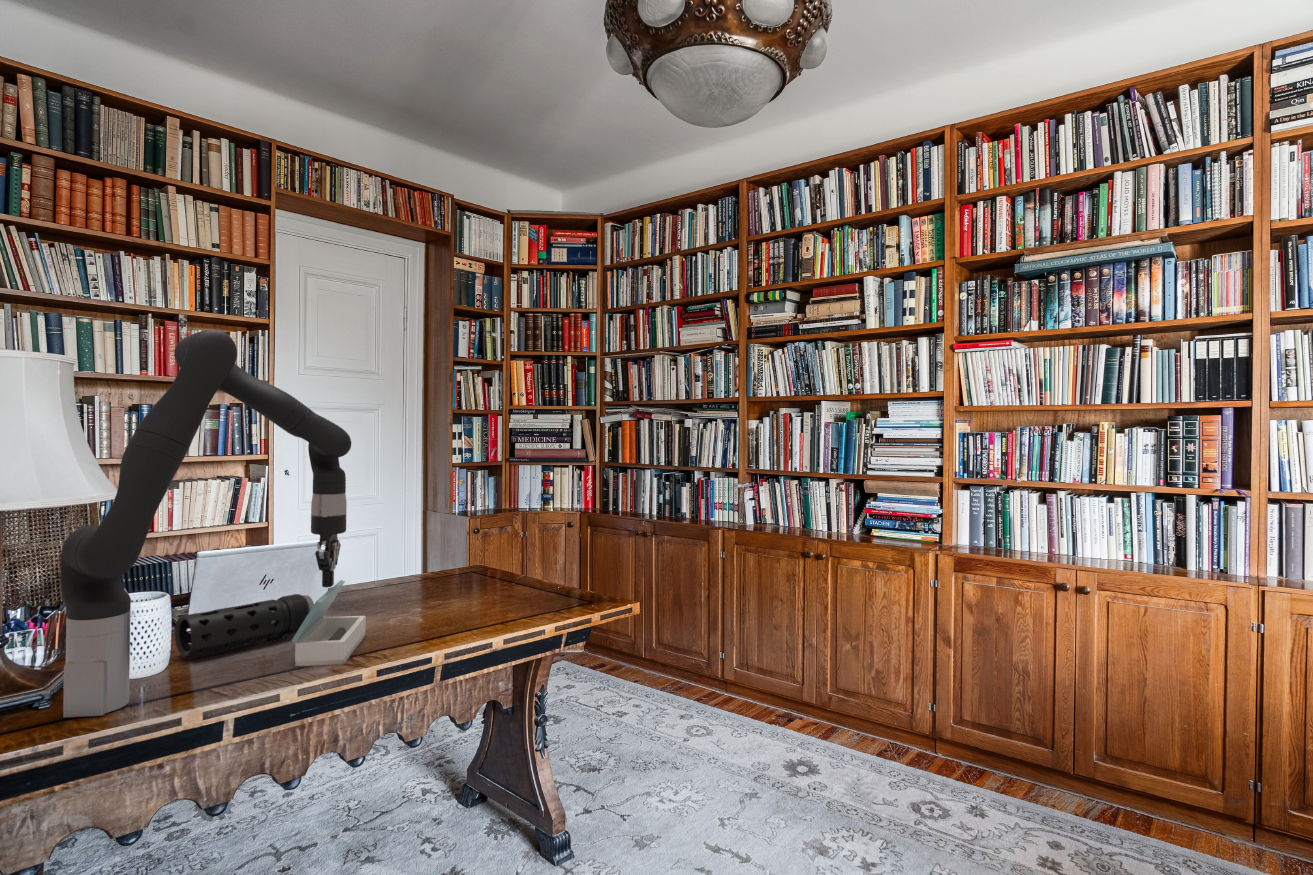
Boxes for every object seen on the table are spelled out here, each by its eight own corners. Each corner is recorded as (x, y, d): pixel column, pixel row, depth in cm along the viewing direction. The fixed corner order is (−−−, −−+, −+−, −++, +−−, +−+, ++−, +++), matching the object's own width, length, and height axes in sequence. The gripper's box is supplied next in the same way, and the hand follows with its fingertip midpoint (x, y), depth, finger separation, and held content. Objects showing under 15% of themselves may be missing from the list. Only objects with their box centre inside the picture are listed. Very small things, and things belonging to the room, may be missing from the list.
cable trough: (344, 664, 154) (344, 641, 154) (295, 666, 153) (295, 643, 153) (365, 635, 176) (365, 615, 176) (322, 637, 174) (323, 616, 174)
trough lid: (320, 602, 153) (316, 600, 153) (295, 643, 153) (291, 640, 152) (345, 581, 175) (341, 579, 175) (323, 616, 174) (319, 614, 174)
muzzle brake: (173, 657, 158) (174, 611, 158) (297, 629, 181) (297, 589, 180) (192, 665, 152) (192, 618, 152) (317, 636, 175) (317, 595, 175)
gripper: (319, 509, 170) (318, 580, 170) (303, 516, 157) (302, 593, 157) (352, 509, 171) (351, 580, 171) (339, 516, 158) (337, 592, 158)
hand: (327, 586), depth 164 cm, fingers closed
